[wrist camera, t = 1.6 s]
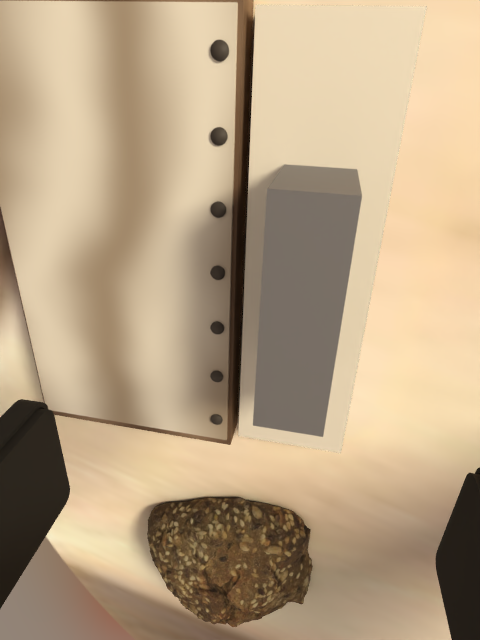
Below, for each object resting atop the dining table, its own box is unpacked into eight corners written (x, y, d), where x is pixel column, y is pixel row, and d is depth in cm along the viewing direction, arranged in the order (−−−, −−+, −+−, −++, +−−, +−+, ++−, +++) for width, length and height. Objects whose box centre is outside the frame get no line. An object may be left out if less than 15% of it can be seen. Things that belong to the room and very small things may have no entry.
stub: (419, 12, 17) (460, -25, 11) (340, 434, 27) (340, 529, 21) (262, 11, 18) (224, -25, 12) (243, 418, 28) (217, 505, 22)
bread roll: (140, 486, 33) (110, 546, 29) (305, 491, 30) (299, 559, 26) (181, 592, 39) (160, 655, 34) (323, 605, 36) (321, 677, 31)
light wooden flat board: (253, -5, 17) (242, -16, 16) (237, 422, 28) (229, 448, 26) (-16, -6, 19) (-57, -16, 17) (63, 394, 30) (44, 416, 28)
